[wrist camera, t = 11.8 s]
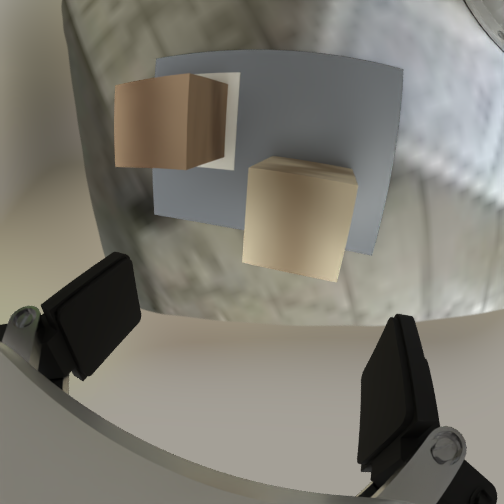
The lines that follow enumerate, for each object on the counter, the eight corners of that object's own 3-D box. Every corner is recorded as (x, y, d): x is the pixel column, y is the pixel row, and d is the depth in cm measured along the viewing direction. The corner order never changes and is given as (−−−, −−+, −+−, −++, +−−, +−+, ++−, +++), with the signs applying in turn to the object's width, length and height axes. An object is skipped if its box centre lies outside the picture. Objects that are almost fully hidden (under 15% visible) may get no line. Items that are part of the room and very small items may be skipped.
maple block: (352, 168, 18) (358, 185, 13) (338, 242, 21) (336, 282, 16) (272, 155, 20) (248, 167, 15) (265, 228, 23) (242, 262, 18)
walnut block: (228, 84, 18) (189, 73, 13) (224, 157, 21) (186, 170, 16) (163, 88, 19) (115, 85, 14) (161, 153, 22) (115, 166, 17)
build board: (401, 70, 14) (403, 69, 14) (371, 252, 21) (372, 256, 21) (160, 59, 19) (155, 58, 18) (158, 212, 26) (154, 214, 25)
